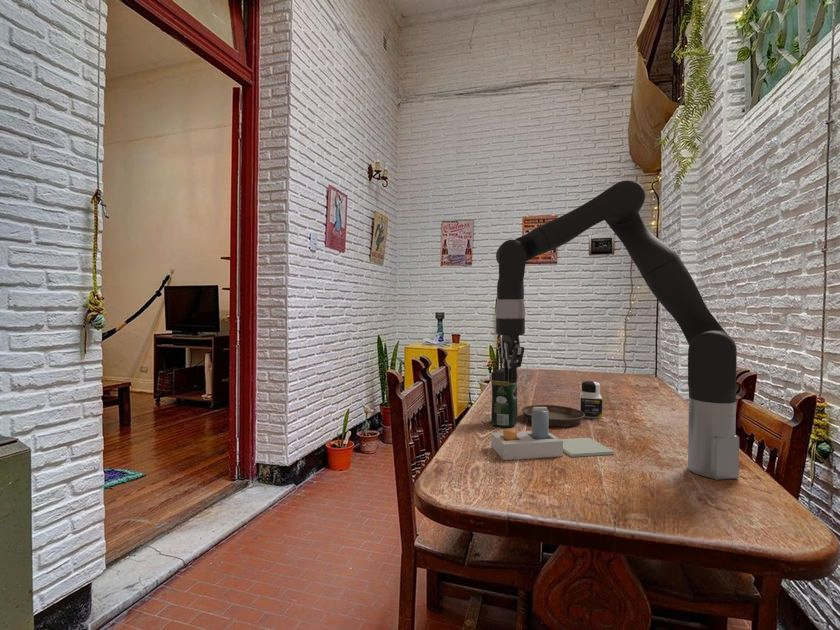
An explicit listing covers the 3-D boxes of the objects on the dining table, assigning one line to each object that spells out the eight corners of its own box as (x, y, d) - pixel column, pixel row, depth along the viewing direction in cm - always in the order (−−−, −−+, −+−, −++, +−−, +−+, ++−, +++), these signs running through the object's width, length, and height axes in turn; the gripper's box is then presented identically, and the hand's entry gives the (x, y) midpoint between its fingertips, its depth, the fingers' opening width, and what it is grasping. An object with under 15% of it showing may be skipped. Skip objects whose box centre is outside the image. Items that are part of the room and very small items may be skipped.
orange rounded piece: (513, 439, 119) (513, 428, 119) (519, 443, 115) (519, 432, 115) (501, 439, 118) (501, 428, 118) (506, 444, 115) (506, 432, 115)
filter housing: (545, 444, 124) (545, 430, 124) (562, 456, 114) (562, 441, 114) (491, 447, 121) (491, 433, 121) (504, 460, 111) (504, 444, 111)
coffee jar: (497, 419, 151) (497, 365, 151) (520, 422, 147) (520, 367, 147) (487, 426, 142) (487, 369, 142) (511, 429, 139) (511, 370, 138)
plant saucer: (561, 411, 162) (561, 402, 162) (597, 426, 143) (598, 416, 142) (511, 415, 157) (510, 406, 157) (541, 431, 137) (541, 420, 137)
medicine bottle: (580, 417, 153) (580, 383, 153) (579, 412, 160) (579, 379, 160) (602, 418, 151) (602, 384, 151) (600, 413, 158) (600, 380, 158)
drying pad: (614, 454, 115) (614, 451, 115) (571, 457, 113) (571, 454, 113) (589, 440, 127) (589, 437, 127) (550, 442, 125) (550, 439, 125)
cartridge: (551, 453, 116) (551, 409, 116) (535, 454, 116) (535, 409, 115) (543, 447, 121) (544, 405, 120) (528, 448, 120) (529, 405, 120)
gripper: (534, 317, 110) (534, 386, 110) (513, 315, 123) (513, 377, 124) (506, 317, 108) (506, 387, 109) (488, 316, 122) (488, 378, 123)
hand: (510, 381), depth 116 cm, fingers closed
